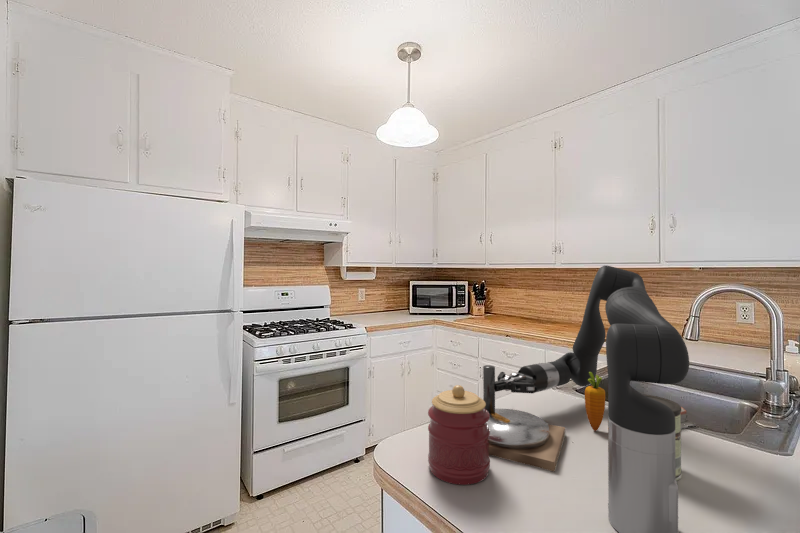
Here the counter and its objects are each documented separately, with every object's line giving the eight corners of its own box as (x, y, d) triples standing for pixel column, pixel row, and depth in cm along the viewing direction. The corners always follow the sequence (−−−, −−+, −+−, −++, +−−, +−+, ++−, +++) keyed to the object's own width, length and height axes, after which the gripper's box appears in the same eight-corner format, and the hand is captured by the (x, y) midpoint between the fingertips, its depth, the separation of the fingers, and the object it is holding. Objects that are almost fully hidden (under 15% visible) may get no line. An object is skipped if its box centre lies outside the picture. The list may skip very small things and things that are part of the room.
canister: (415, 466, 79) (415, 384, 79) (455, 447, 87) (455, 373, 87) (462, 495, 69) (461, 401, 69) (502, 470, 77) (502, 386, 77)
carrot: (609, 436, 92) (608, 376, 92) (587, 434, 93) (587, 375, 93) (602, 427, 97) (602, 371, 97) (582, 426, 98) (581, 370, 98)
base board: (565, 435, 93) (565, 426, 93) (554, 471, 76) (554, 460, 76) (477, 416, 104) (477, 408, 104) (451, 445, 88) (451, 435, 88)
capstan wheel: (566, 437, 87) (565, 378, 87) (508, 456, 78) (508, 390, 78) (510, 411, 103) (510, 361, 103) (458, 424, 94) (457, 369, 94)
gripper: (521, 359, 112) (476, 367, 104) (557, 370, 100) (509, 380, 92) (521, 383, 112) (476, 393, 104) (557, 397, 100) (509, 410, 93)
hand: (492, 387), depth 98 cm, fingers closed
